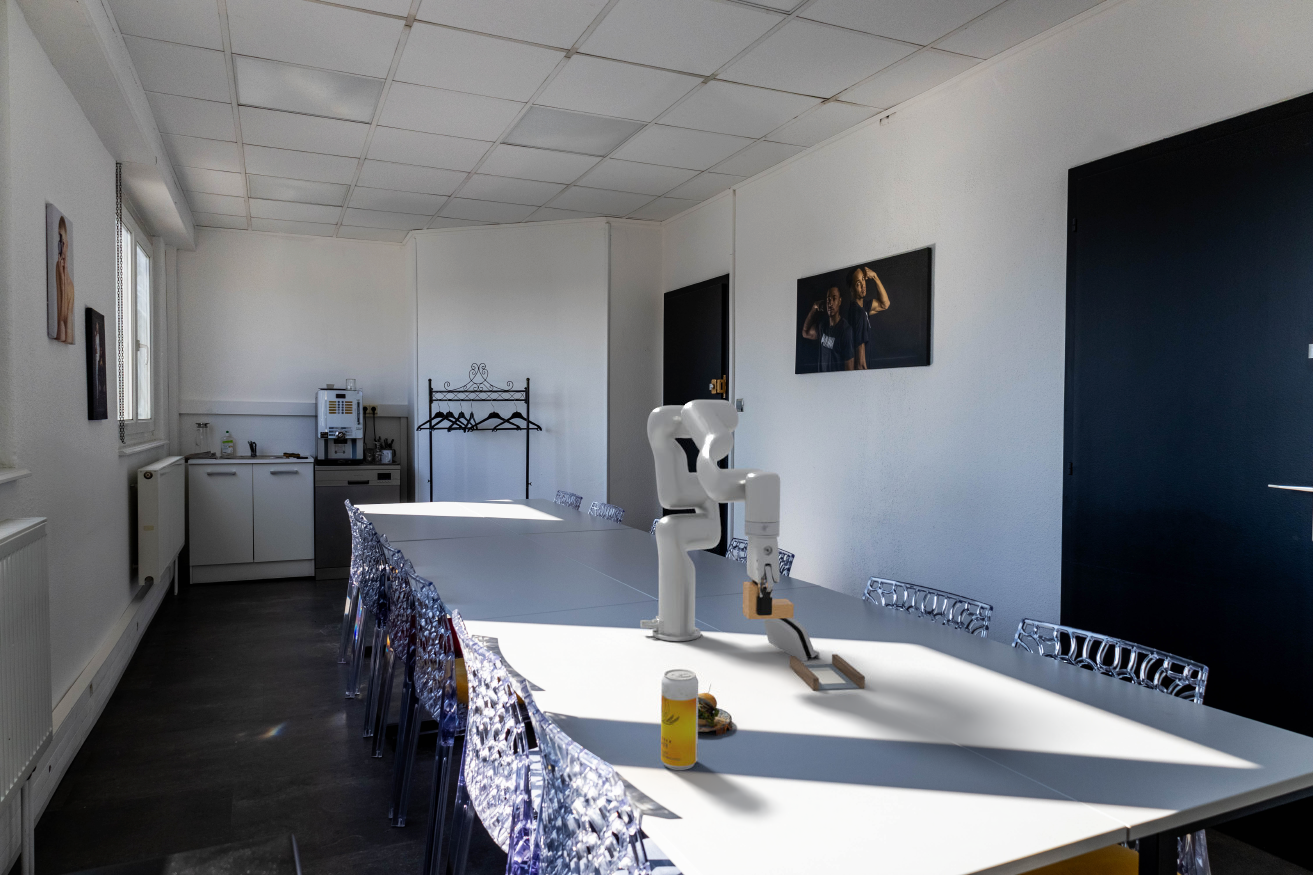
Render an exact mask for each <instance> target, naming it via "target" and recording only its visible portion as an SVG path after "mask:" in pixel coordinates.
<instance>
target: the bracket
mask: <svg viewBox="0 0 1313 875" xmlns="http://www.w3.org/2000/svg"><path fill="white" fill-rule="evenodd" d="M757 597H758V586H757V585H755V584H754V583H753V582H751V581H743V582H742V614H743V615H744V616H745V618H747V620H765V619H777V618H793V619H794V610H795V608H794V607H795V606H794V605H795V604H794V603H793V602H791V600H789V599H788V598H772V615H764V616H759V615H757Z"/></svg>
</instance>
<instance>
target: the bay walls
mask: <svg viewBox="0 0 1313 875" xmlns="http://www.w3.org/2000/svg"><path fill="white" fill-rule="evenodd" d="M831 664H832V665H834V666H835V667H836V668H837V669H838V670H839V671H841V672H842V673H843V674H844V675H845V676H846V677H848V678H849V679H850V680H851V681H852V682H853V683H855V684H856V685H857V686H858V687H859V690H860V689H865V688H866V686H865V684H866V676H865V675H864V674H862V673H861V672H860V671H859V670H857V669H856V668H855V667H854V666H853V665H851V664H850V663H849V662H848V661H846V660H845V659H844V658H842V656H840V655H839V654H836V653H834V654H833V653H832V654H831ZM805 665H806V664H804V663H803V661H801V660H799V659H798V658H797V657H795V656H792V655H789V668H790V669H791V670H792V671H793V673H795V674H796V675H797V676H798V677H799V678H800V679H801V680H802V681H803V682H804V683H805V684H806V685H807V686H808V687H809V688H810V689H811V690H812V691H815V692H816V691H820V690H819V678H818V677H817V676H816V675H815V674H814V673H812V672H811V671H810V670H809V669H808V668H807V667H806V666H805Z"/></svg>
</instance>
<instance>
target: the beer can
mask: <svg viewBox="0 0 1313 875" xmlns="http://www.w3.org/2000/svg"><path fill="white" fill-rule="evenodd" d="M698 694H699V680H698V678H697V674H696V672H695V671H692V670H689V669H684V668H683V669H682V668H677V669H676V668H674V669H670V670H667V671H665V672H664V674H663V677H662V678H661V702H660V703H661V704H660V705H661V706H660V707H661V708H660V710H661V711H660V713H661V714H660V715H661V717H660V721H661V722H660V726H661V727H660V759H661V761H662V763H663V765H664V766H665V767H666V768H668V769H671V770H675V771H683V770H688V769H689V770H690V769H691V768H693V767H694V766H695V763H697V761H698V759H699V758H698V753H699V752H698V750H699V748H698V746H699V744H698V743H699V741H698V740H699V739H698V738H699V735H698V734H699V731H698Z"/></svg>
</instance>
